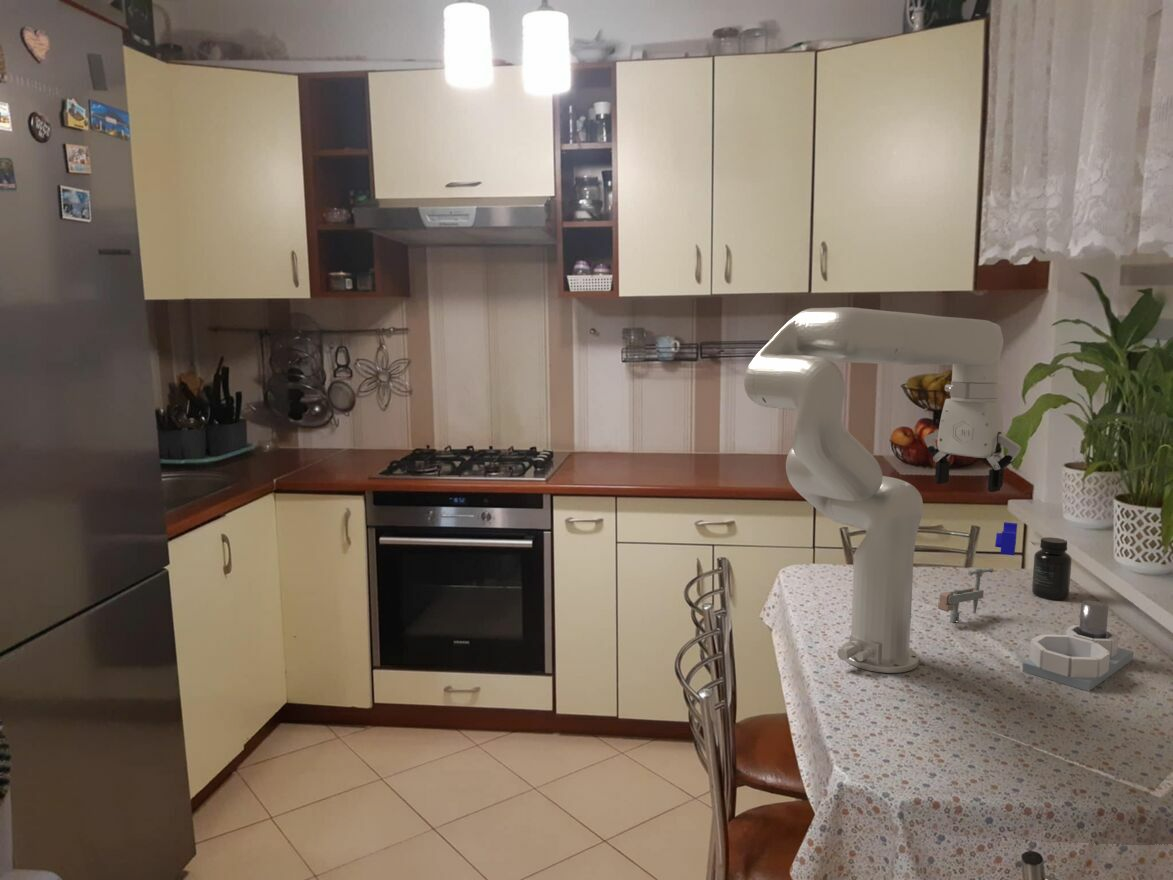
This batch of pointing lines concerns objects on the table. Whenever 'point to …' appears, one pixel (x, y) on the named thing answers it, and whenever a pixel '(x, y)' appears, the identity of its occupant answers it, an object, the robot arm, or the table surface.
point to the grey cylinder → (1093, 619)
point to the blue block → (1007, 538)
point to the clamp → (962, 596)
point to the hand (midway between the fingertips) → (967, 486)
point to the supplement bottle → (1052, 570)
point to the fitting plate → (1076, 658)
